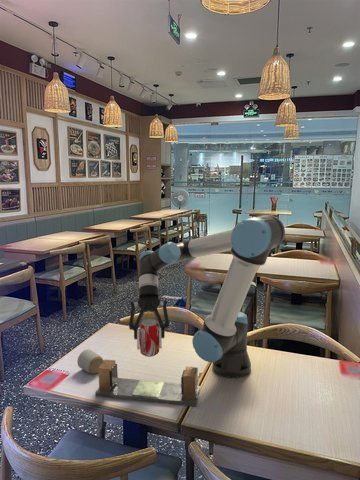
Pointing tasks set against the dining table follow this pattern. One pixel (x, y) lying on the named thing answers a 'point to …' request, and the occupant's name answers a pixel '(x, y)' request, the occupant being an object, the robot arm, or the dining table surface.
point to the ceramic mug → (89, 361)
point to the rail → (148, 387)
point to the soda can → (149, 337)
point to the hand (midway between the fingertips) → (149, 347)
